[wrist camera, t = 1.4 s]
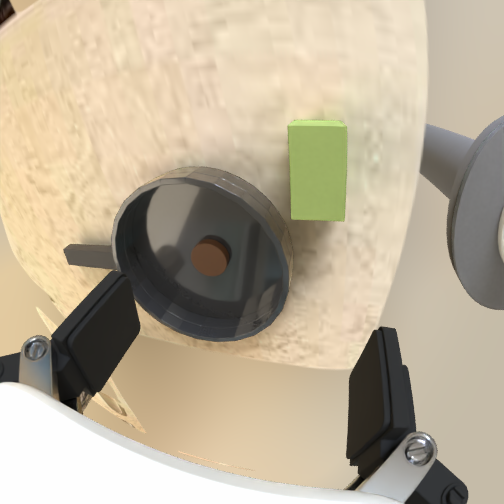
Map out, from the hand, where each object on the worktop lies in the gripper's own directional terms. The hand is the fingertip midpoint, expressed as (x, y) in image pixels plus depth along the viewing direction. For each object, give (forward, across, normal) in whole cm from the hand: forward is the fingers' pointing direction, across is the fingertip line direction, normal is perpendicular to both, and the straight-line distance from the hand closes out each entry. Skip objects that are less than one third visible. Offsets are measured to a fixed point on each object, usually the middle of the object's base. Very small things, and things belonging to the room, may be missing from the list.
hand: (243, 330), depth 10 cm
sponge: (+18, -2, -3) cm, 19 cm away
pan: (+18, +8, +9) cm, 22 cm away
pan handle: (+17, +23, +12) cm, 31 cm away
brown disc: (+18, +7, +9) cm, 21 cm away
